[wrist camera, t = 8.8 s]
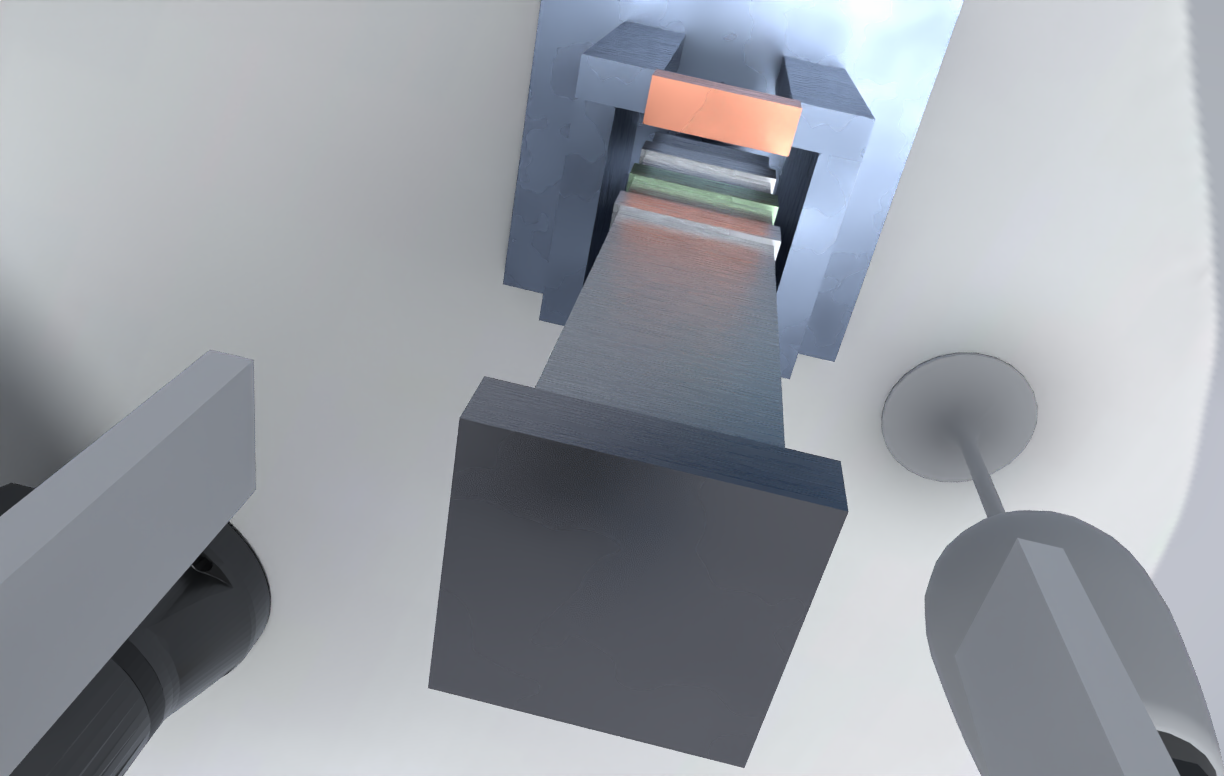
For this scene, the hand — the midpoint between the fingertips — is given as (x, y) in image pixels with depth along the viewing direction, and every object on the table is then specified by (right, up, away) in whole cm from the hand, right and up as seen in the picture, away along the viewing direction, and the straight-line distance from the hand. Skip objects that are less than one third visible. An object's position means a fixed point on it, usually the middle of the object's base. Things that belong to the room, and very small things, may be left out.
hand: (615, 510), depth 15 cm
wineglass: (+17, +1, +28) cm, 33 cm away
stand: (+4, +13, +23) cm, 27 cm away
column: (+3, +9, +16) cm, 19 cm away
